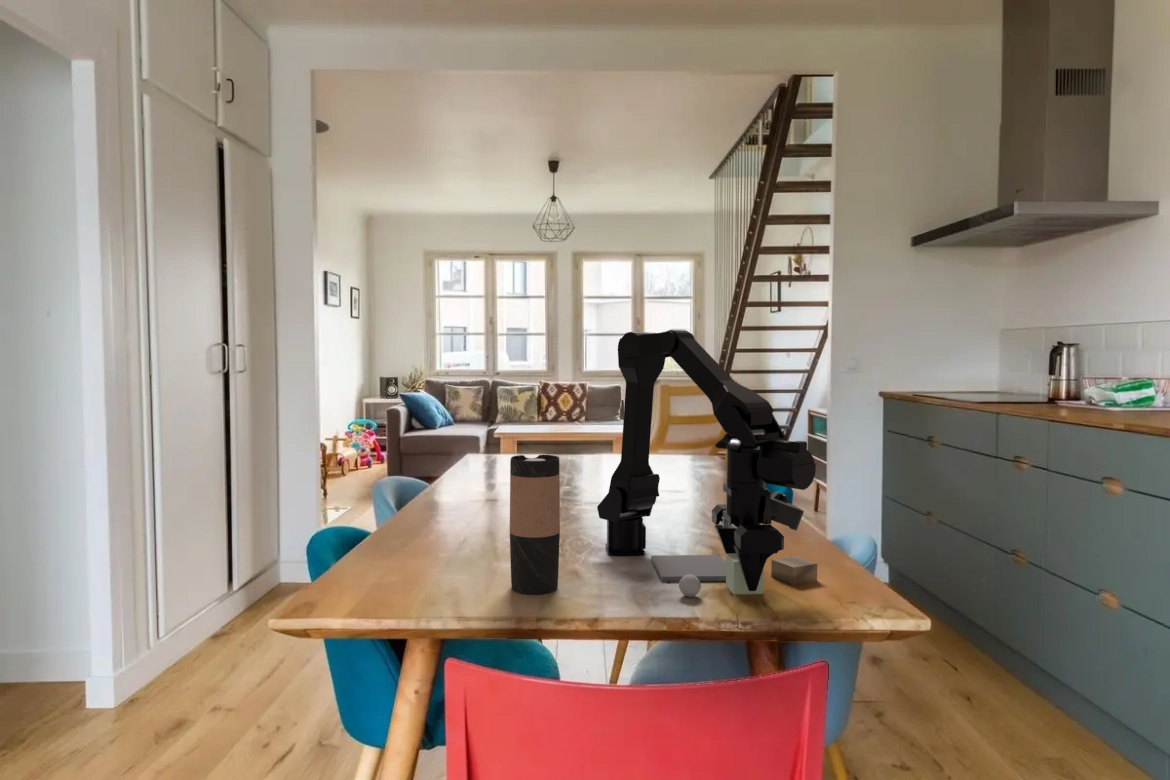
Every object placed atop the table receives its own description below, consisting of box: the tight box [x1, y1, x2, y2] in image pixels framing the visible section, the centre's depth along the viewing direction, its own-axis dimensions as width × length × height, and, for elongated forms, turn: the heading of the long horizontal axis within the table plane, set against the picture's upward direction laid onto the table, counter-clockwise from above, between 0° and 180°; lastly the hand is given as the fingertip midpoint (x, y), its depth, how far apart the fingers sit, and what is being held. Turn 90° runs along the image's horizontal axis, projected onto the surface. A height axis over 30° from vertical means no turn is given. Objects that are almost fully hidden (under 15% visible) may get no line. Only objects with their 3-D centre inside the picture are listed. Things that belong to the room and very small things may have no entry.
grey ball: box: [678, 575, 702, 598], centre depth 106 cm, size 3×3×3 cm
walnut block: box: [770, 555, 818, 586], centre depth 115 cm, size 5×5×3 cm
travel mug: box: [509, 454, 561, 596], centre depth 109 cm, size 8×8×20 cm
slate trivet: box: [650, 554, 726, 583], centre depth 119 cm, size 12×12×1 cm
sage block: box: [725, 553, 764, 595], centre depth 109 cm, size 4×4×5 cm
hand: (744, 581), depth 109 cm, fingers open, 8 cm apart
